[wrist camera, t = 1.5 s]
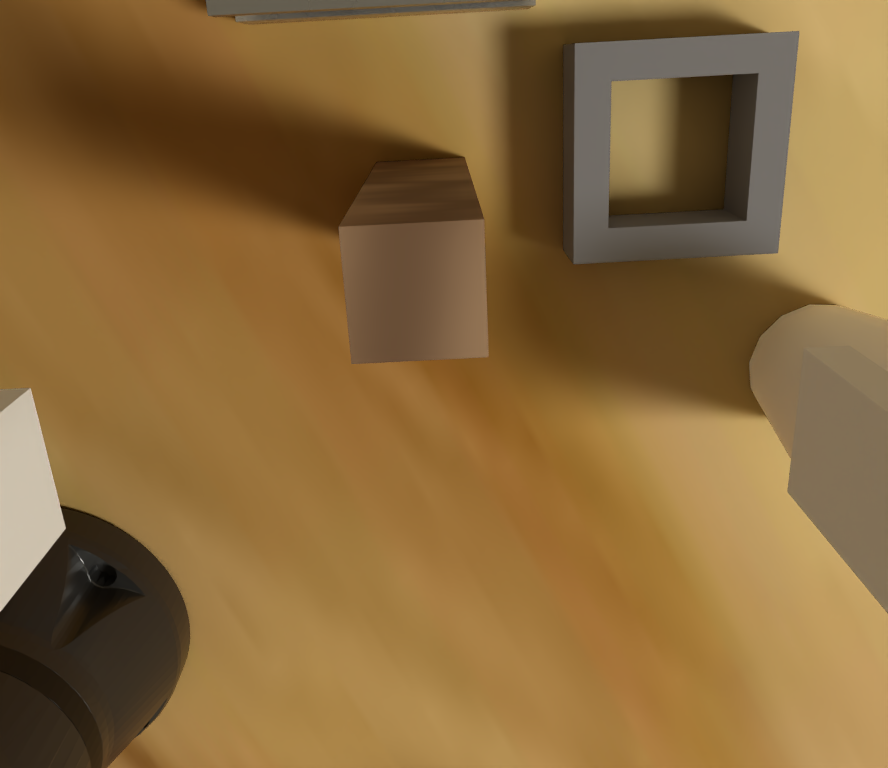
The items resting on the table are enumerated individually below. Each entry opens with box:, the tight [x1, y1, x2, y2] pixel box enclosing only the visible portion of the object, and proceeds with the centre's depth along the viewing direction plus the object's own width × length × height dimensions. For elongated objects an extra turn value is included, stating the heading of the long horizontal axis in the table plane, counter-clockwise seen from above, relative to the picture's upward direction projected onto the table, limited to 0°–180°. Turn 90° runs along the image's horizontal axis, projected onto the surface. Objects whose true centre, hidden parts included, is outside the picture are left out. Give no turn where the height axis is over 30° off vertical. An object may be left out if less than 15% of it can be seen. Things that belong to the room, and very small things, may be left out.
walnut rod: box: [338, 157, 489, 364], centre depth 31 cm, size 4×4×16 cm
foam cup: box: [749, 304, 888, 458], centre depth 35 cm, size 10×9×13 cm
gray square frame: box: [563, 31, 799, 264], centre depth 36 cm, size 9×9×3 cm
